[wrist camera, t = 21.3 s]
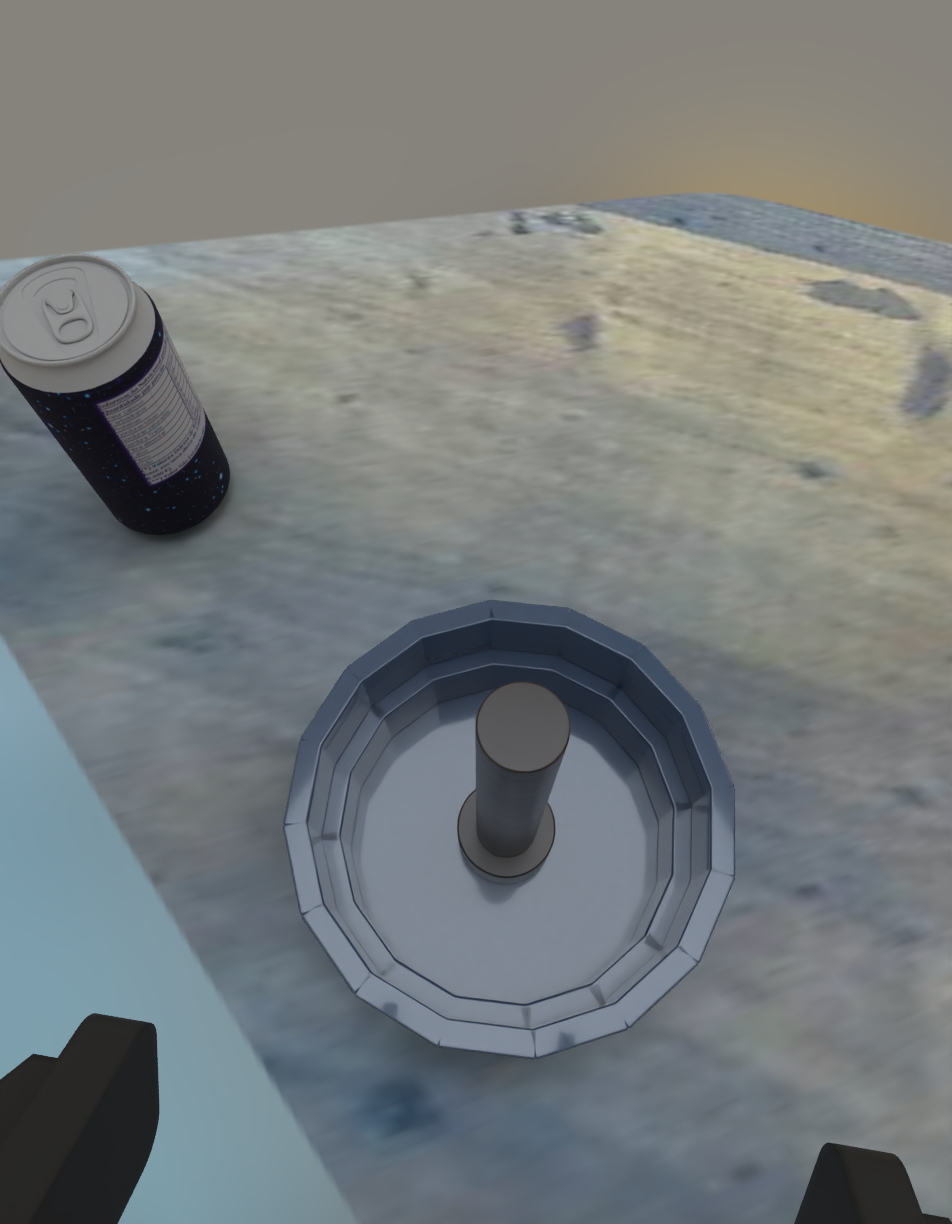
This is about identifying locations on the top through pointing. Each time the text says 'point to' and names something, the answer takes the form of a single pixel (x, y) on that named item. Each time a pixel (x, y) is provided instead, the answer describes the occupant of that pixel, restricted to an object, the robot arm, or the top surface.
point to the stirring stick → (513, 782)
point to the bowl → (577, 863)
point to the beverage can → (112, 391)
